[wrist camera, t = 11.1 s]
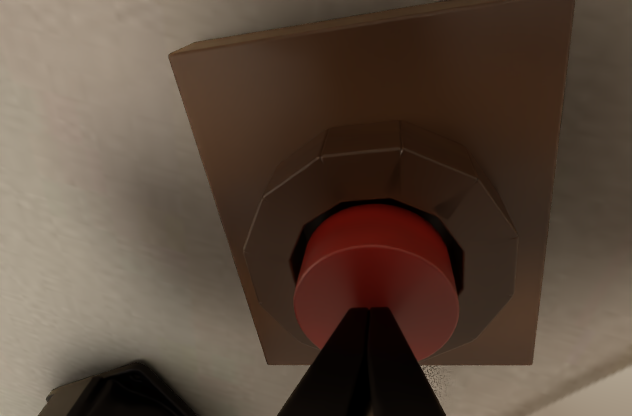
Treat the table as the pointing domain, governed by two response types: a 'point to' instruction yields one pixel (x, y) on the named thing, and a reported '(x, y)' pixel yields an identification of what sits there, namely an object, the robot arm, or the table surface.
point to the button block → (390, 152)
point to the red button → (378, 275)
